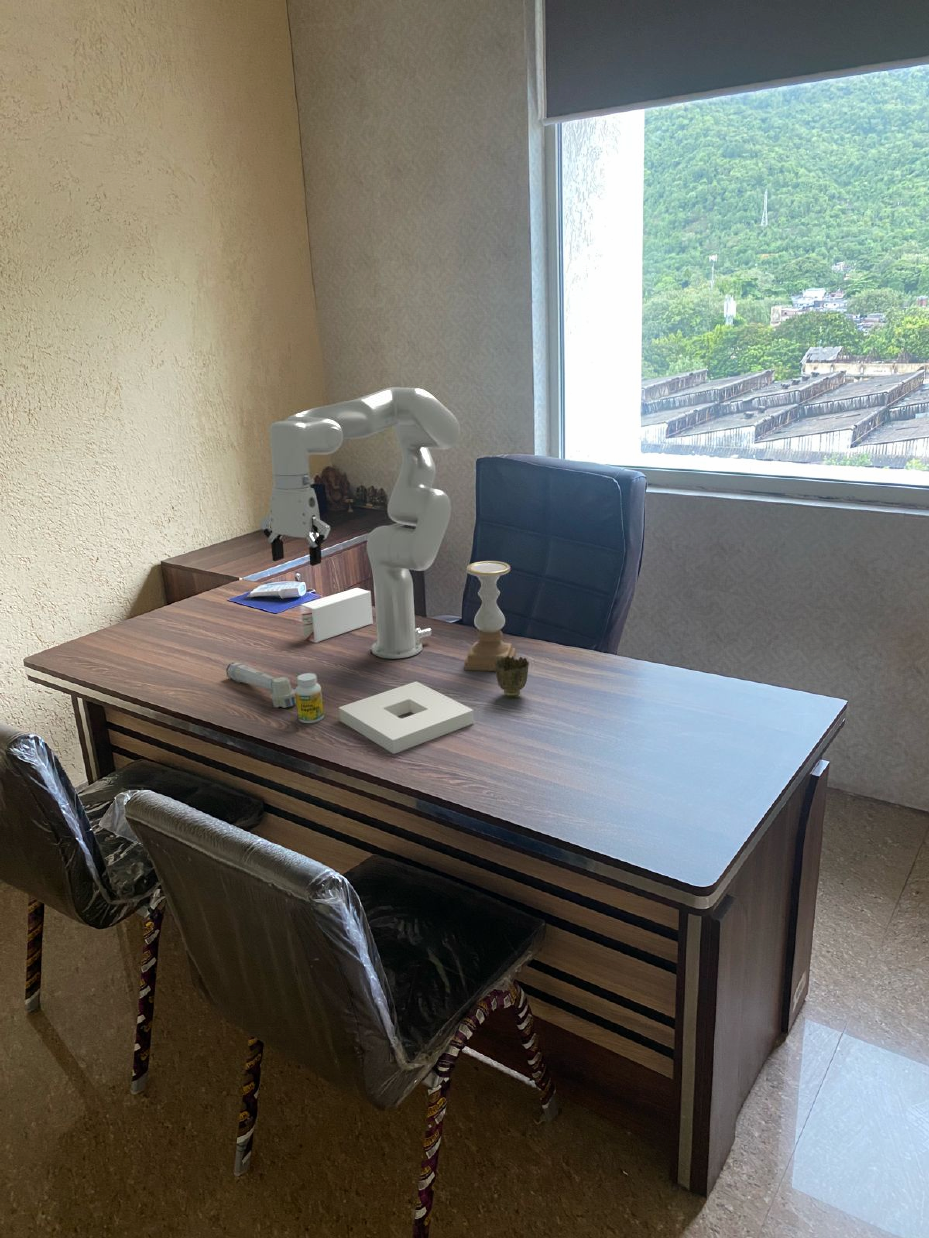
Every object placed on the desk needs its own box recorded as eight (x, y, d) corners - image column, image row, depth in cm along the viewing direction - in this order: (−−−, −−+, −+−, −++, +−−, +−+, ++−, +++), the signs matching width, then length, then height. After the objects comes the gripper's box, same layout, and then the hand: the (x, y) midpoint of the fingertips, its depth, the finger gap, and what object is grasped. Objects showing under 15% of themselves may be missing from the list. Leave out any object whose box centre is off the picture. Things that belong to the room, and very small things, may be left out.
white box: (359, 620, 251) (357, 587, 248) (372, 624, 248) (370, 591, 244) (300, 639, 238) (296, 605, 235) (312, 644, 234) (309, 610, 231)
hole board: (416, 693, 203) (416, 681, 202) (473, 723, 188) (473, 709, 187) (339, 720, 191) (338, 707, 190) (393, 753, 177) (392, 740, 176)
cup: (534, 691, 202) (533, 657, 200) (521, 704, 196) (521, 670, 193) (503, 686, 205) (502, 653, 203) (490, 699, 199) (489, 665, 196)
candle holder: (472, 652, 225) (469, 559, 217) (516, 654, 223) (515, 560, 215) (463, 669, 215) (460, 572, 207) (510, 672, 213) (508, 574, 205)
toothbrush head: (241, 658, 216) (297, 673, 198) (246, 685, 218) (302, 702, 199) (221, 665, 213) (276, 680, 194) (227, 692, 215) (281, 710, 196)
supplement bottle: (322, 711, 196) (319, 670, 193) (324, 722, 191) (321, 680, 188) (297, 714, 195) (293, 673, 192) (298, 725, 190) (294, 683, 187)
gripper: (336, 482, 189) (340, 562, 195) (269, 477, 197) (274, 554, 202) (315, 487, 183) (320, 570, 188) (246, 482, 190) (253, 561, 195)
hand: (296, 562), depth 195 cm, fingers open, 9 cm apart
